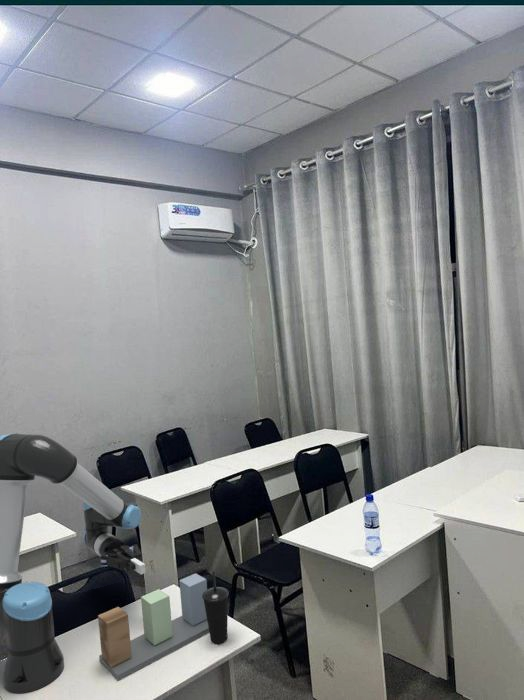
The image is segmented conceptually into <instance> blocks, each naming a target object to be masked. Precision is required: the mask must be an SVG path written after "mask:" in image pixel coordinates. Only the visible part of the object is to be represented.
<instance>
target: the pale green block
mask: <svg viewBox="0 0 524 700" xmlns="http://www.w3.org/2000/svg"><path fill="white" fill-rule="evenodd" d="M170 599H171V598H170V595H168V594H167V593H166V592H164V591H163V590H161V589H160V588H158V589H156V590H154V591H152V592H151V591H150V592H149V593H147V594H144V595H141V596H140V601H141V602H140V604H141V612H142V613H141V615H142V624H143V625H142V626H143V634H144V637H145V638H146V639H147V640H149V641H150V642H151V643H152V644H153V645H156V644H158V643H160V642H162V641H164V640H166V639H168V638H170V637H172V636H173V632H172V611H171V600H170Z"/></svg>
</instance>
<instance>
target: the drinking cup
mask: <svg viewBox="0 0 524 700" xmlns="http://www.w3.org/2000/svg"><path fill="white" fill-rule="evenodd" d="M211 573H212V584H213V587H210V588H207V590H206V591H204V592H203V594H202V598H203V600H204V605H205V610H206V616H207V622H208V627H209V633H208V634H209V638H210V642H211V643H212V644H213V643H214V644H213V645H221V644H224V643H226V642H227V640H228V614H229V612H228V609H229V607H228V605H229V604H228V603H229V602H228V600H229V599H228V596H229V593H230V592H229V590H228V589H227V588H225V587H223V586H217V585H216V584H217V583H216V572H215V571H212V572H211Z"/></svg>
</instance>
